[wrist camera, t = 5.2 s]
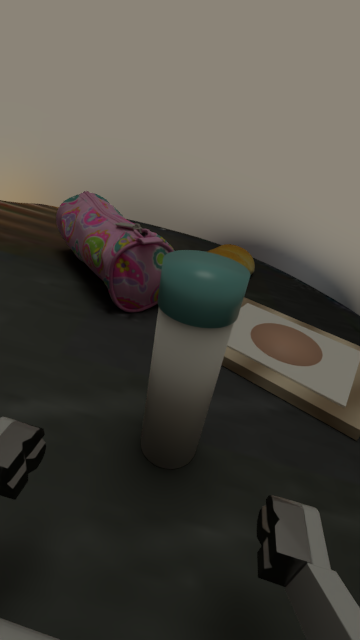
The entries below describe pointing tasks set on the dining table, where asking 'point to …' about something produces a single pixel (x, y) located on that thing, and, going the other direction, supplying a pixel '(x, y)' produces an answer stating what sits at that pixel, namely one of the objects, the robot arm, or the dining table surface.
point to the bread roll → (236, 255)
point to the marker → (188, 350)
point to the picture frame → (298, 365)
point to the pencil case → (114, 250)
